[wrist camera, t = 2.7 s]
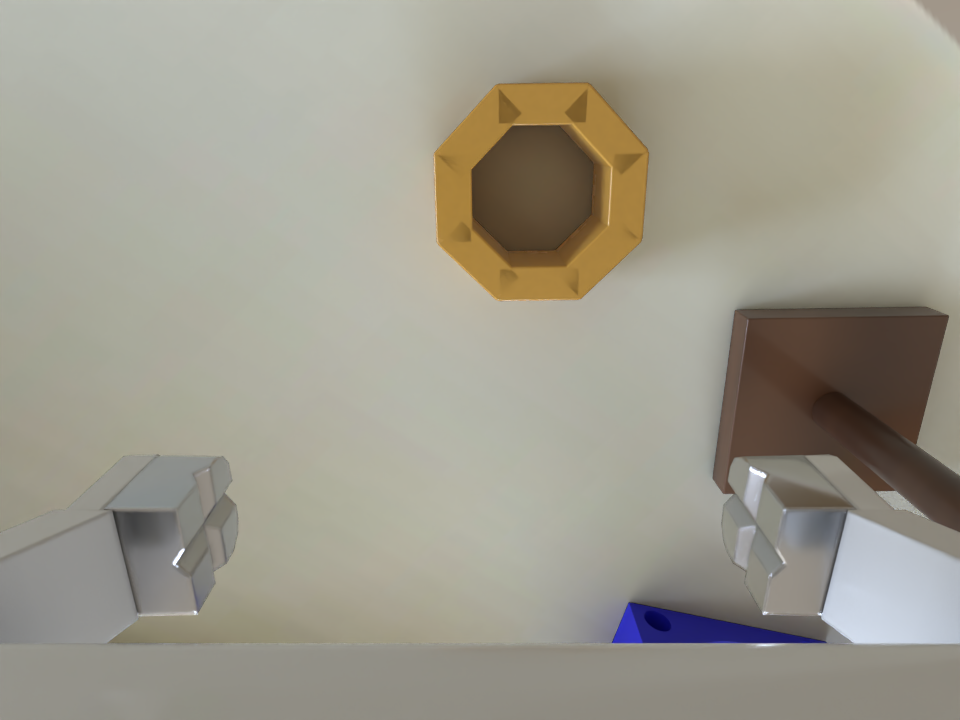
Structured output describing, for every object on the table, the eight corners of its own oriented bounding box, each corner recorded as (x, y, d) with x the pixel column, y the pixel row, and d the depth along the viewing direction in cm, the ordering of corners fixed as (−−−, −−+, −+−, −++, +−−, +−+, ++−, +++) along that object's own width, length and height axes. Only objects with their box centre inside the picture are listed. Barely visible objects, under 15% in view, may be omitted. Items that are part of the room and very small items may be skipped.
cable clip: (603, 662, 36) (628, 760, 31) (628, 602, 35) (659, 693, 29) (793, 698, 37) (851, 799, 32) (825, 641, 36) (892, 736, 30)
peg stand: (711, 478, 32) (870, 705, 19) (734, 309, 29) (940, 448, 16) (885, 475, 32) (1156, 699, 19) (926, 306, 29) (1280, 441, 16)
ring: (442, 282, 28) (438, 302, 25) (436, 90, 26) (430, 84, 22) (618, 279, 28) (638, 299, 25) (630, 87, 26) (655, 81, 22)
